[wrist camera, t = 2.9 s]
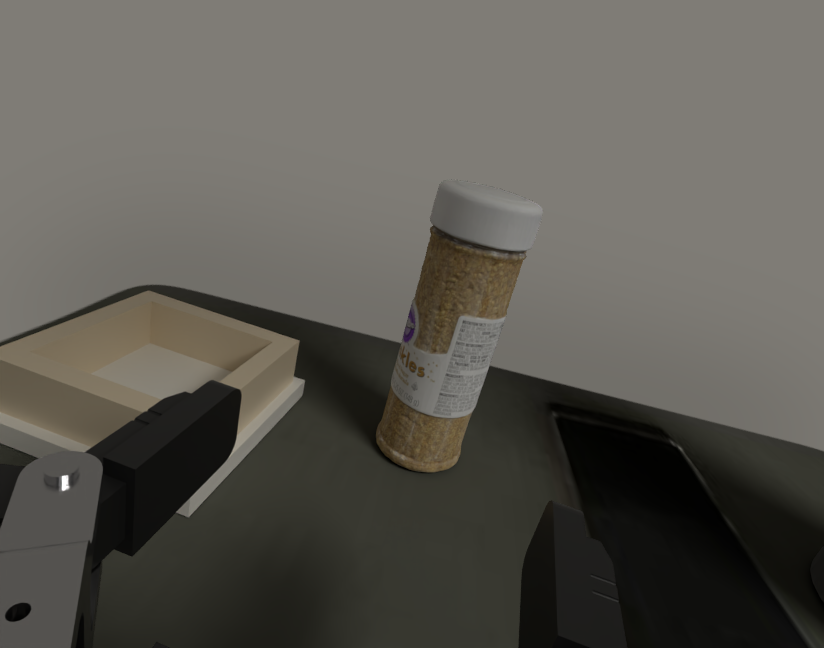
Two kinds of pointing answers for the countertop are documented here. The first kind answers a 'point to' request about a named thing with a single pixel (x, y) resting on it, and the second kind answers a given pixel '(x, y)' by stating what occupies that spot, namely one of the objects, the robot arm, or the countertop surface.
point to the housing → (140, 376)
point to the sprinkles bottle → (455, 321)
